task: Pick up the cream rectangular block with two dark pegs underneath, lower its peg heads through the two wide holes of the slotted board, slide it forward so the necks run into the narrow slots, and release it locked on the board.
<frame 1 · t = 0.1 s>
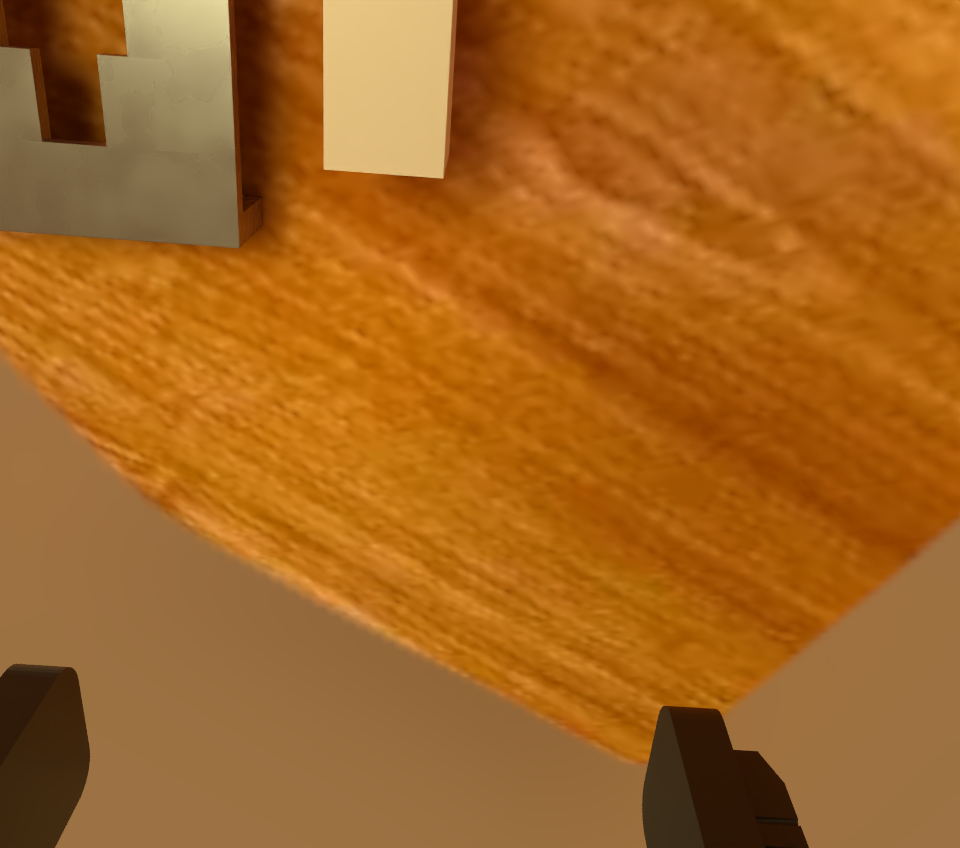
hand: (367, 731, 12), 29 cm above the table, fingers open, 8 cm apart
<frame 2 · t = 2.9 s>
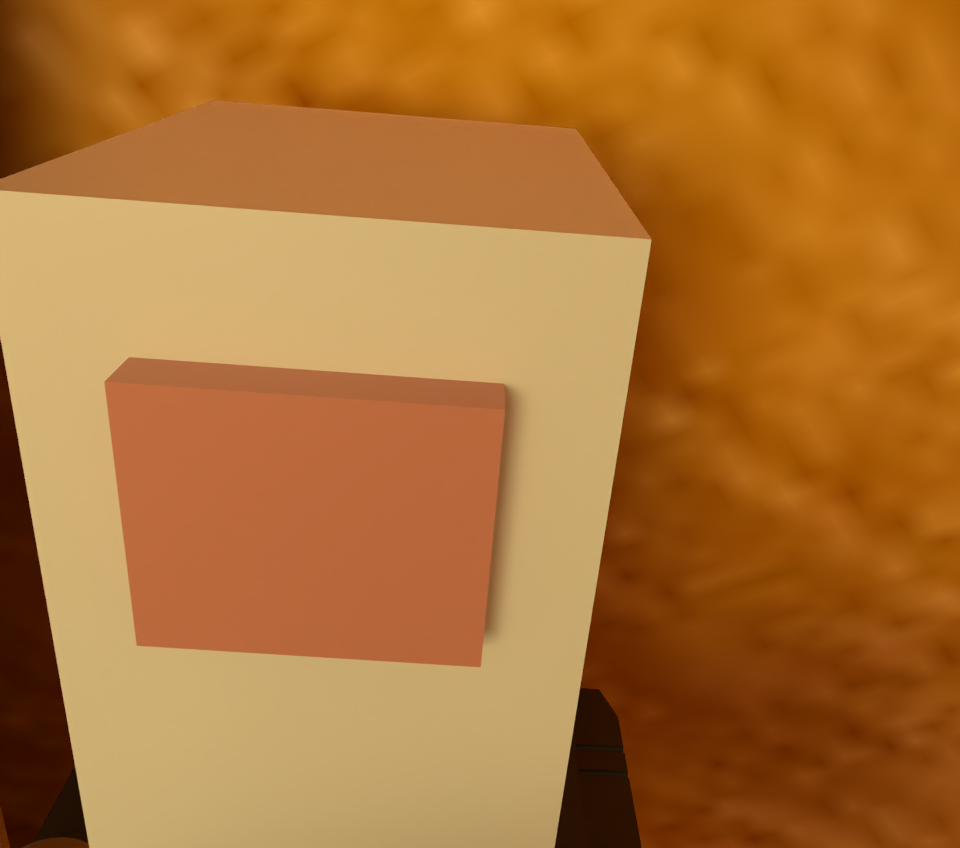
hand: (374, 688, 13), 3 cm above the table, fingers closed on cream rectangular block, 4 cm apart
cream rectangular block: (397, 560, 16), on the table, touching gripper
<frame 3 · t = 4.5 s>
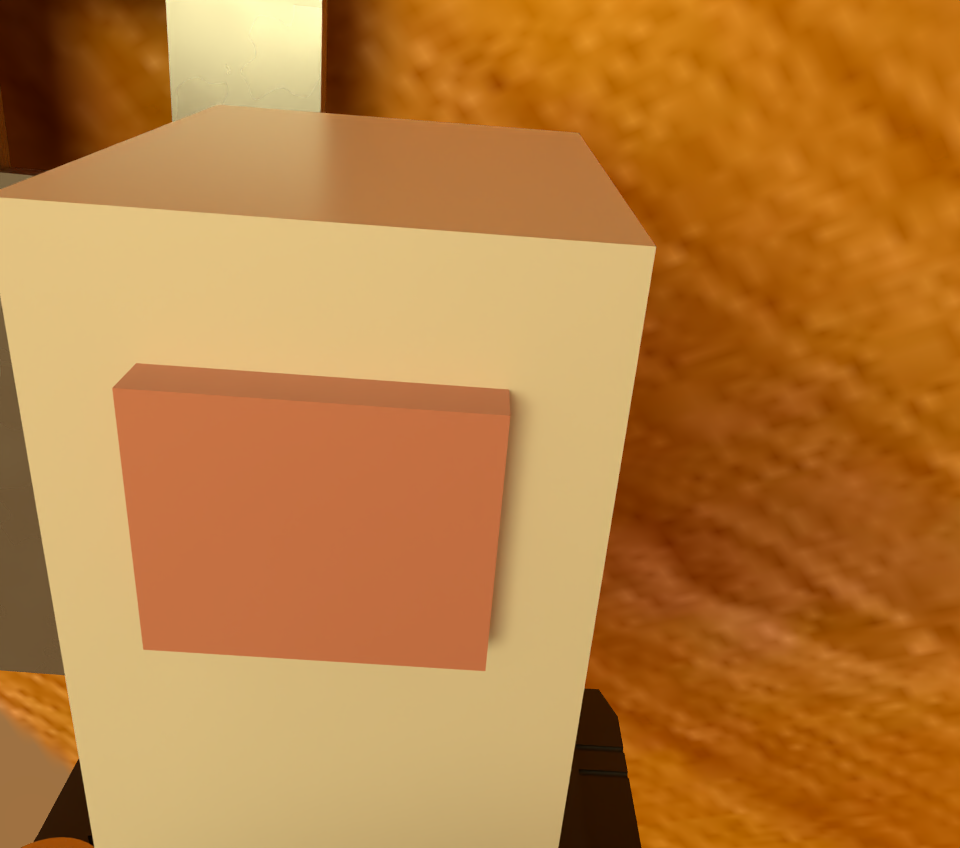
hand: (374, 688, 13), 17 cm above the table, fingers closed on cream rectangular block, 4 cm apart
cream rectangular block: (399, 561, 16), point 14 cm above the table, touching gripper
slotted board: (151, 306, 28), on the table
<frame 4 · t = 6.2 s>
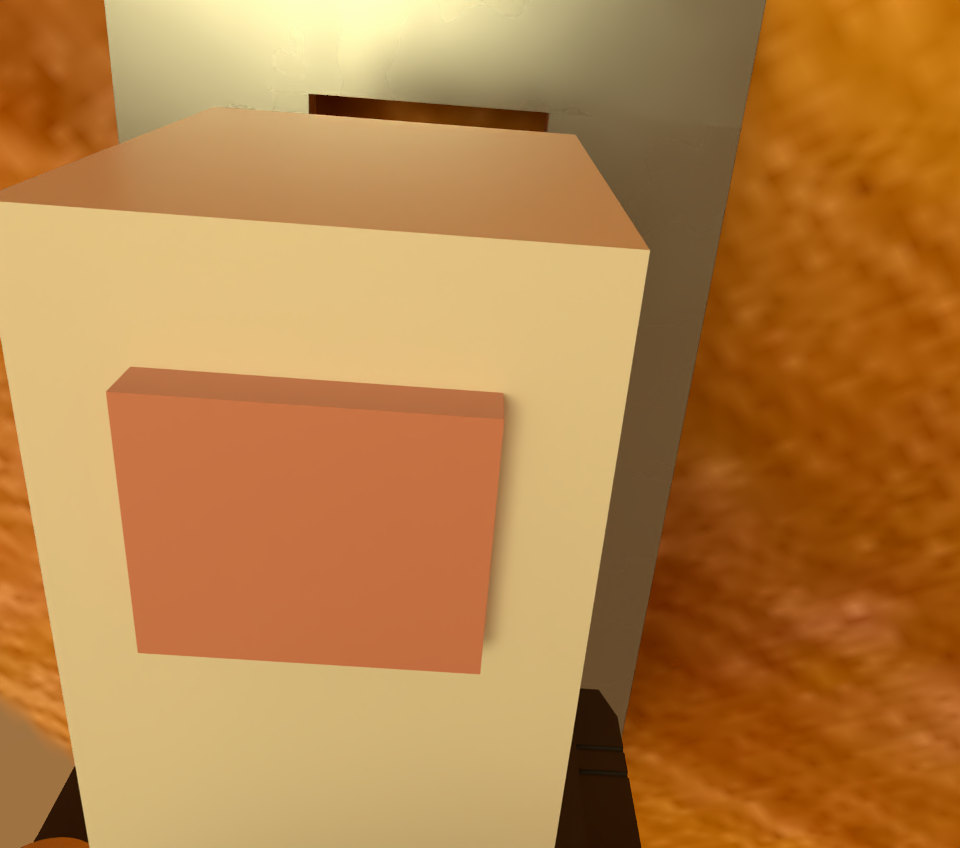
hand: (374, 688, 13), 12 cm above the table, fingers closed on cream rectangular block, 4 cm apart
cream rectangular block: (397, 562, 16), point 9 cm above the table, touching gripper
slotted board: (421, 440, 24), on the table
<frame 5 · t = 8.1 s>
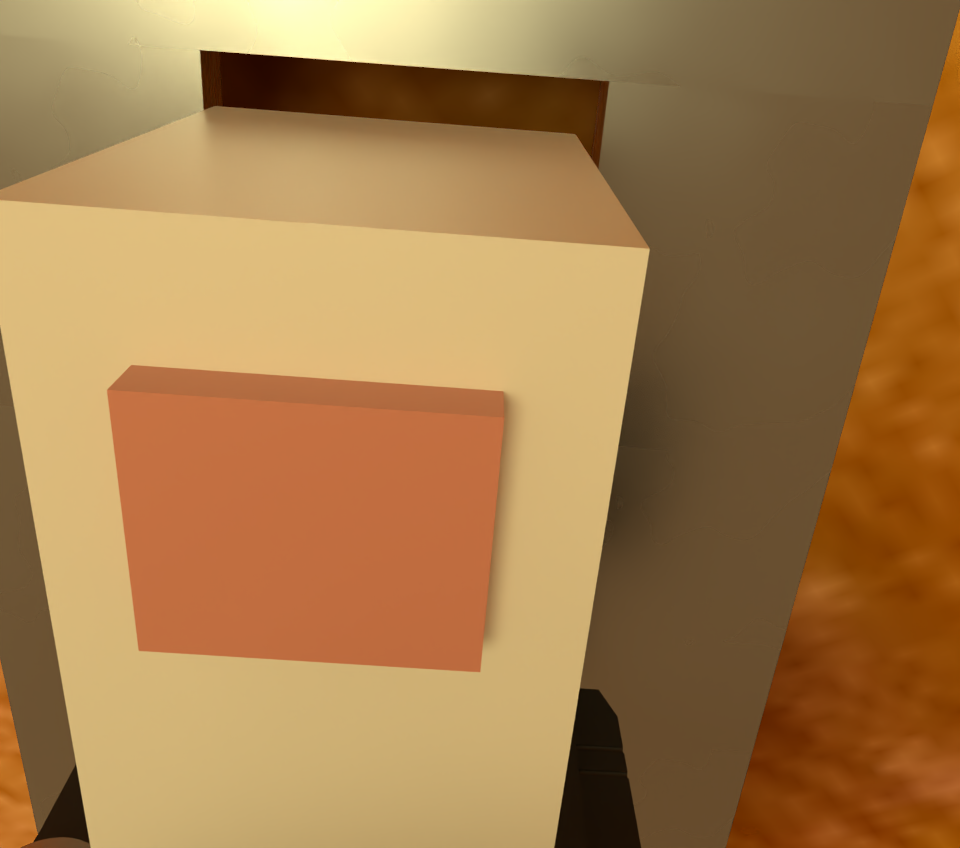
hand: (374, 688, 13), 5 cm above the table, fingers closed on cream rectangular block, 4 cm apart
cream rectangular block: (397, 562, 16), point 1 cm above the table, touching gripper
slotted board: (407, 553, 18), on the table
when the fingers open (5 cm above the table, at t = 9.6 s): cream rectangular block stays where it is, resting on slotted board.
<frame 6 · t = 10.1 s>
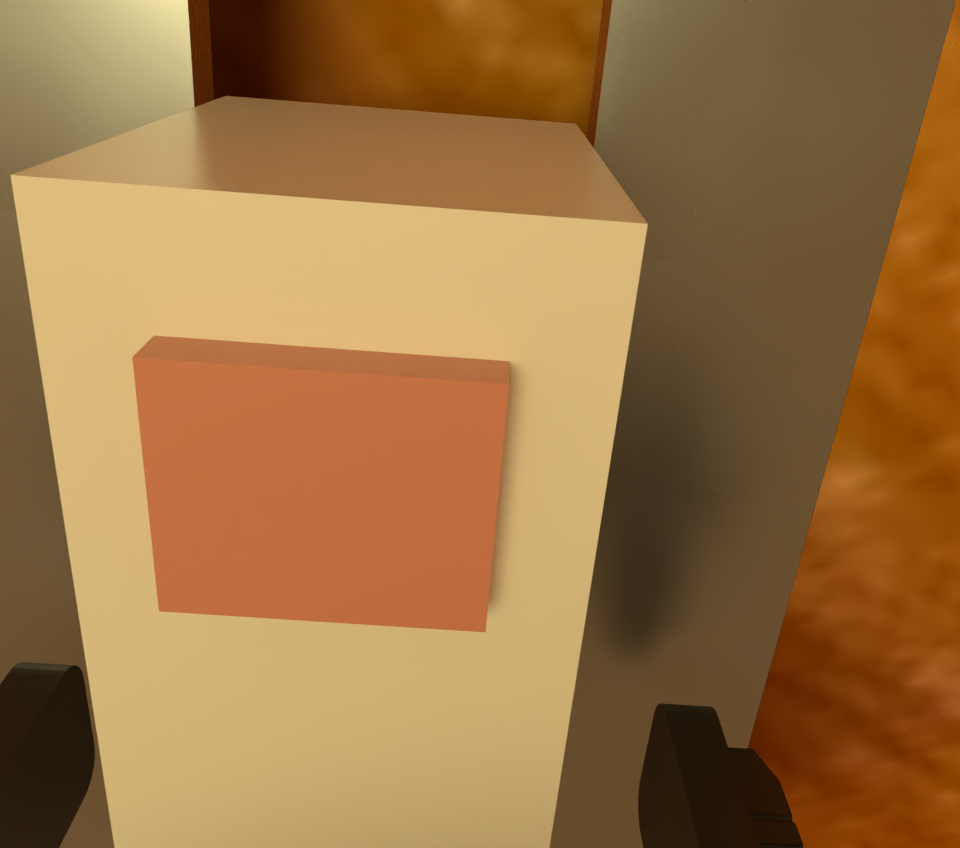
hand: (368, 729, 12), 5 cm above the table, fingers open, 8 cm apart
cream rectangular block: (400, 548, 16), point 1 cm above the table, touching slotted board
slotted board: (405, 437, 16), on the table
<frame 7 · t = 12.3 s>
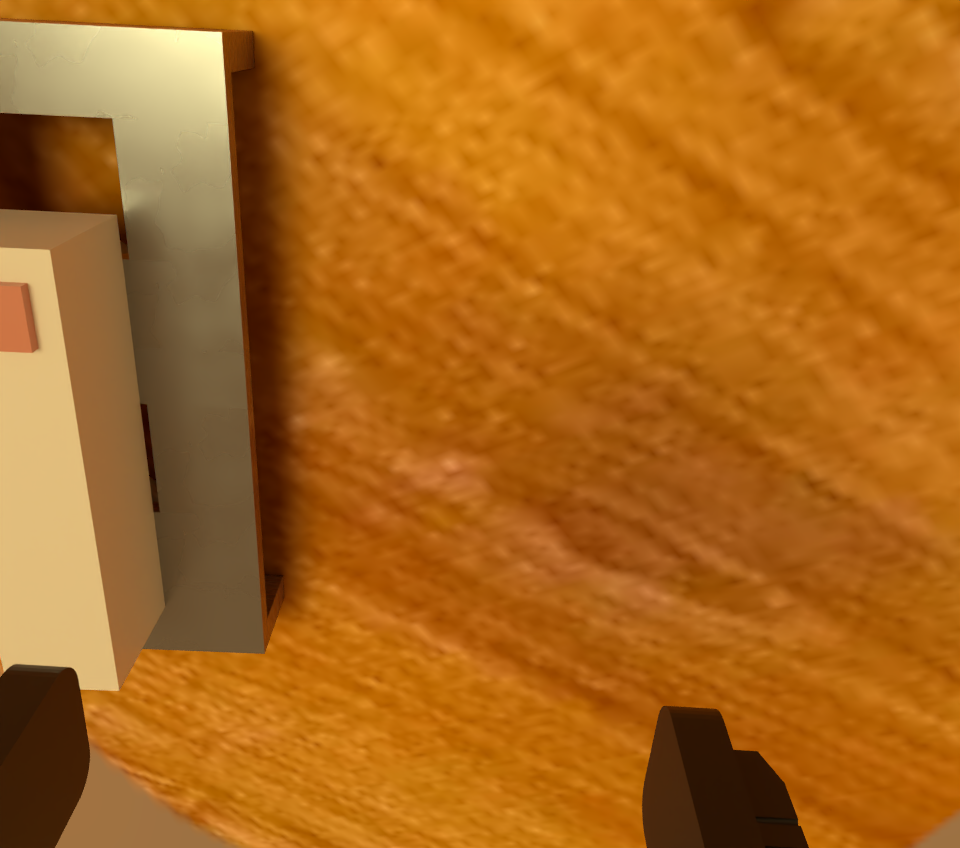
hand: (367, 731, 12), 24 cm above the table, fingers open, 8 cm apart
cream rectangular block: (119, 396, 35), point 1 cm above the table, touching slotted board
slotted board: (122, 346, 36), on the table
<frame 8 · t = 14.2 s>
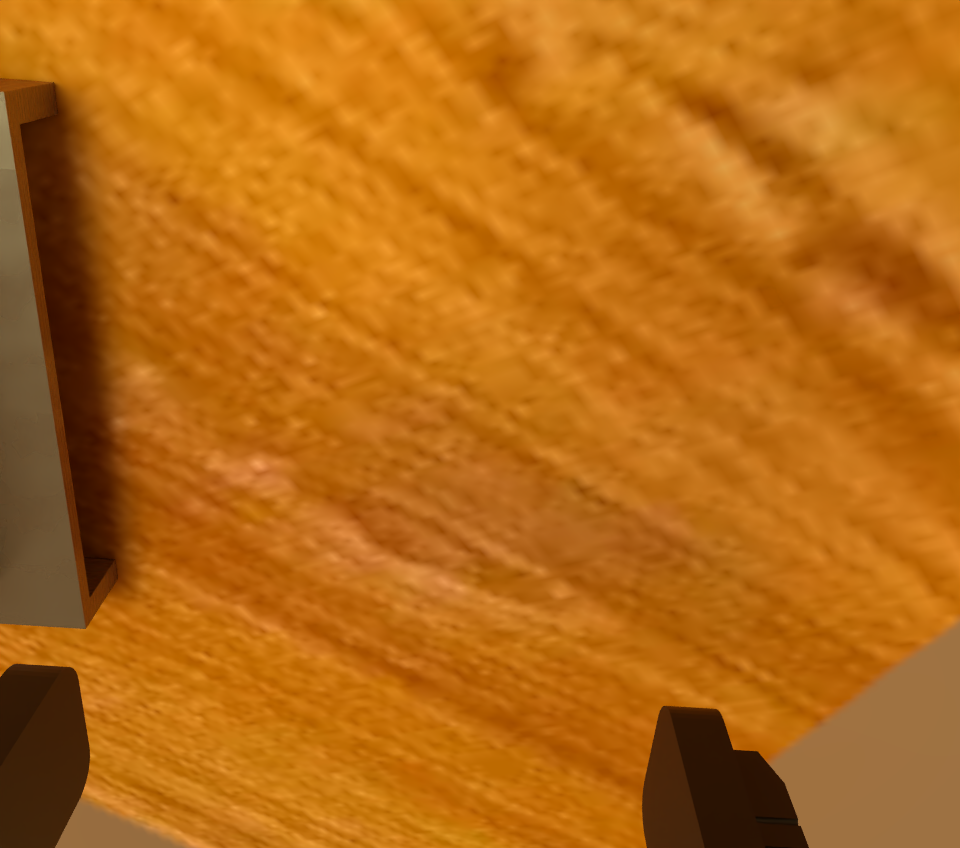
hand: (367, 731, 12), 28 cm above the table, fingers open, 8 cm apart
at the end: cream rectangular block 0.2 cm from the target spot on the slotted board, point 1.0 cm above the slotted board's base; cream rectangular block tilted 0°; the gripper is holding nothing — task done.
